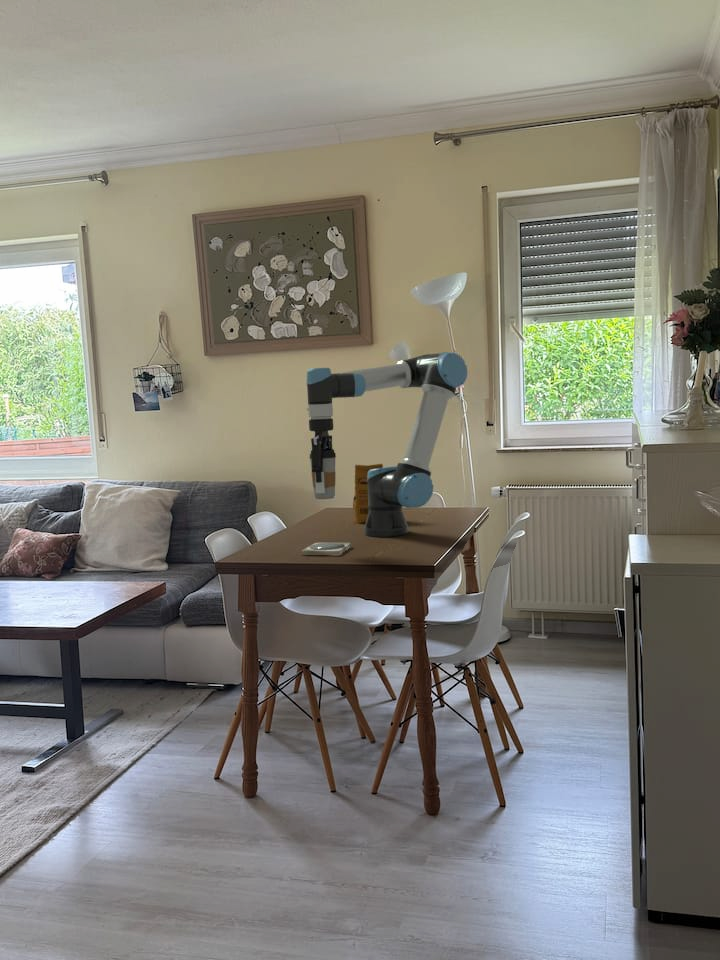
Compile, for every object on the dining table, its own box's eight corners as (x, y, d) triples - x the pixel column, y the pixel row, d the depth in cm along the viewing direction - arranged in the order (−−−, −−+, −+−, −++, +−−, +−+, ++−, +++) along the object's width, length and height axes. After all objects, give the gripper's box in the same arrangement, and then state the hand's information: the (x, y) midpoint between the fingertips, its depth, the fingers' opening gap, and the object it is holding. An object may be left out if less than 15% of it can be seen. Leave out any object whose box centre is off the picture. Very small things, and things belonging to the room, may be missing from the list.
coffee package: (354, 520, 333) (351, 463, 330) (386, 518, 332) (383, 462, 330) (352, 524, 323) (350, 465, 320) (385, 523, 322) (383, 464, 320)
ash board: (316, 547, 279) (316, 541, 279) (351, 547, 275) (351, 542, 275) (301, 555, 265) (301, 550, 265) (338, 555, 262) (338, 550, 262)
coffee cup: (307, 499, 266) (304, 451, 265) (318, 496, 274) (315, 449, 272) (331, 500, 263) (329, 451, 262) (342, 496, 271) (340, 448, 269)
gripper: (319, 417, 277) (323, 487, 279) (298, 420, 257) (302, 495, 260) (342, 416, 275) (345, 487, 277) (322, 419, 255) (325, 495, 258)
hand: (324, 491), depth 268 cm, fingers closed on coffee cup, 7 cm apart
